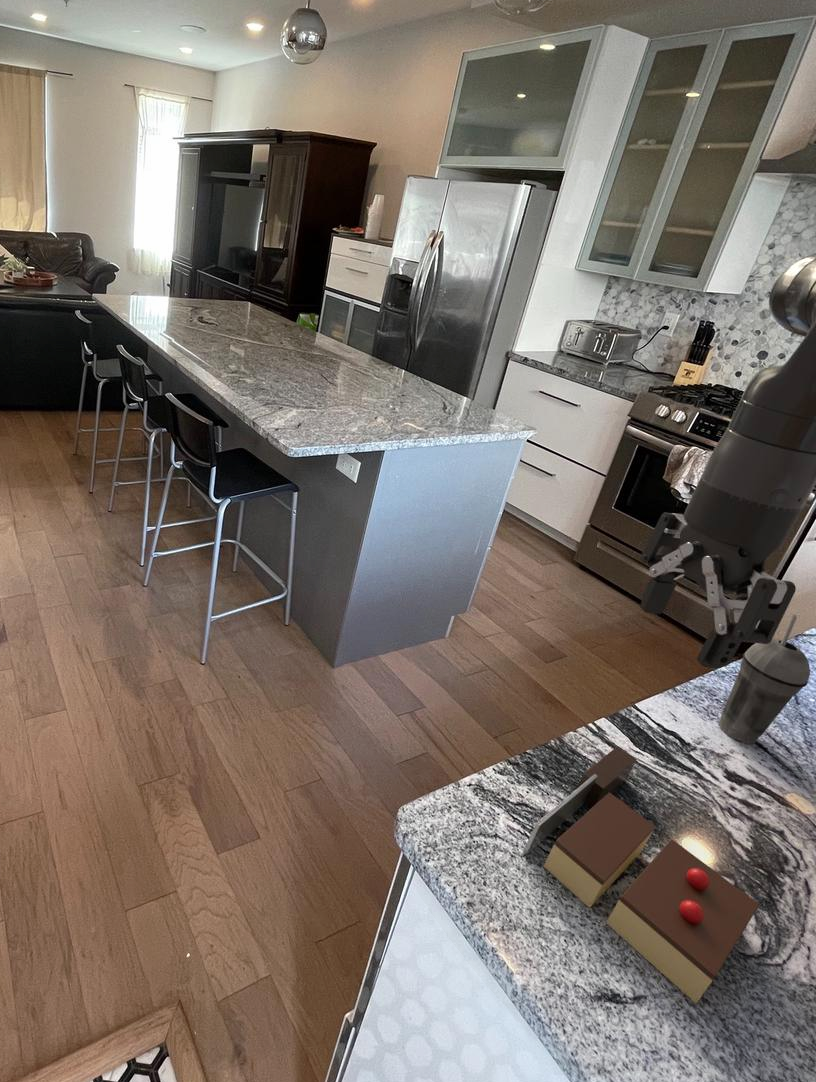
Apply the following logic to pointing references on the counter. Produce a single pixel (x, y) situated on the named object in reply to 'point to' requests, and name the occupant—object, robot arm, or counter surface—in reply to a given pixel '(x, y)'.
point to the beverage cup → (764, 687)
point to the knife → (585, 793)
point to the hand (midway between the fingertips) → (677, 636)
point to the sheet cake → (682, 918)
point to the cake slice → (598, 848)
